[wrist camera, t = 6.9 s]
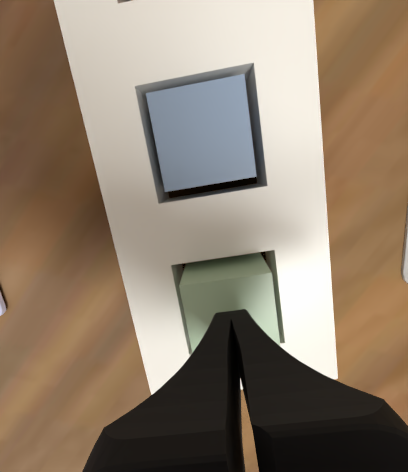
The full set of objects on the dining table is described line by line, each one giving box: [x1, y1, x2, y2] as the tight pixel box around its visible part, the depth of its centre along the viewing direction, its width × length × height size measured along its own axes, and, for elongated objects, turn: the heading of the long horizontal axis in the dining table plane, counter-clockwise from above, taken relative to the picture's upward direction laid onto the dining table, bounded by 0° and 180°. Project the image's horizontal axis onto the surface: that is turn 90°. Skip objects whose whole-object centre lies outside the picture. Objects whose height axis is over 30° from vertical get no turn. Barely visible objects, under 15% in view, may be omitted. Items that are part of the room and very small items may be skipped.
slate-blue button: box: [146, 74, 257, 192], centre depth 13 cm, size 4×4×3 cm
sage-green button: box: [179, 253, 280, 353], centre depth 13 cm, size 4×4×3 cm
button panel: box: [54, 0, 338, 395], centre depth 13 cm, size 10×26×3 cm, turn 9°
